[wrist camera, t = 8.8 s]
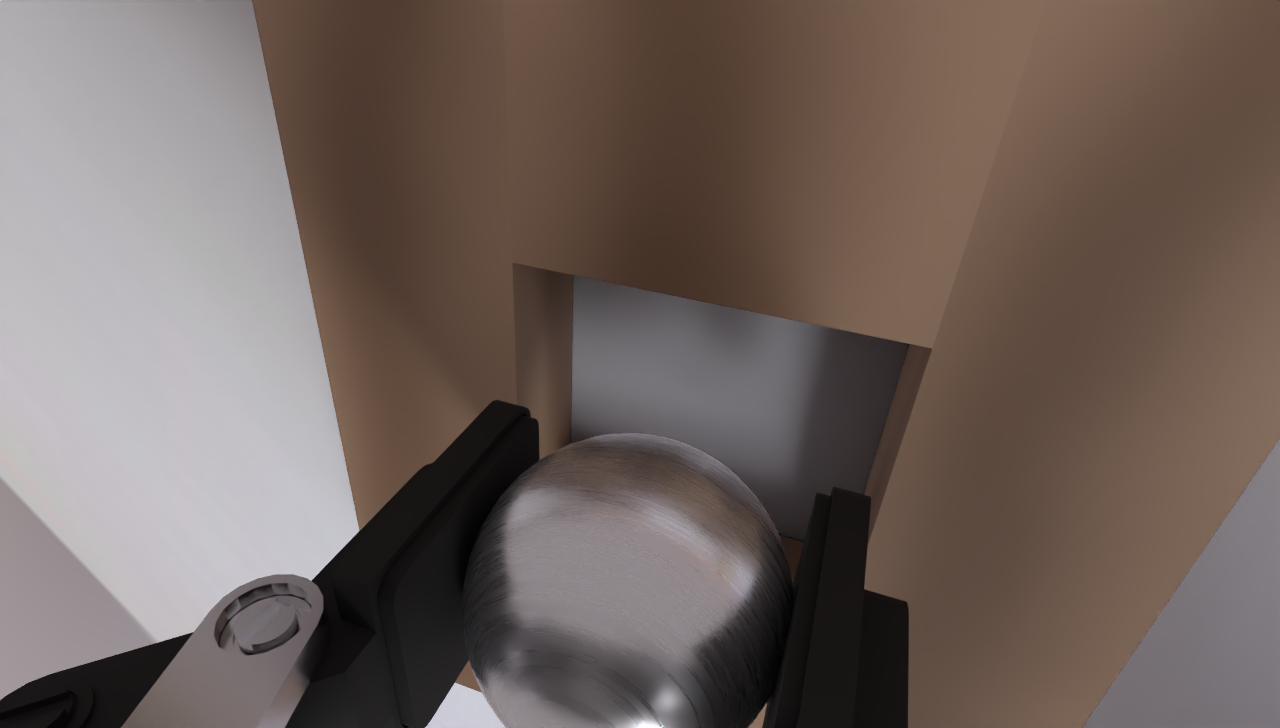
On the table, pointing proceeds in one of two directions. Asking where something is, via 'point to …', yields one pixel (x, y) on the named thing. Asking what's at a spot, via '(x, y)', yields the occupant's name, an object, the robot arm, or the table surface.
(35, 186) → the table surface
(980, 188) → the pocket plate
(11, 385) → the table surface
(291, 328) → the table surface
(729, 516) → the steel ball
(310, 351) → the table surface
